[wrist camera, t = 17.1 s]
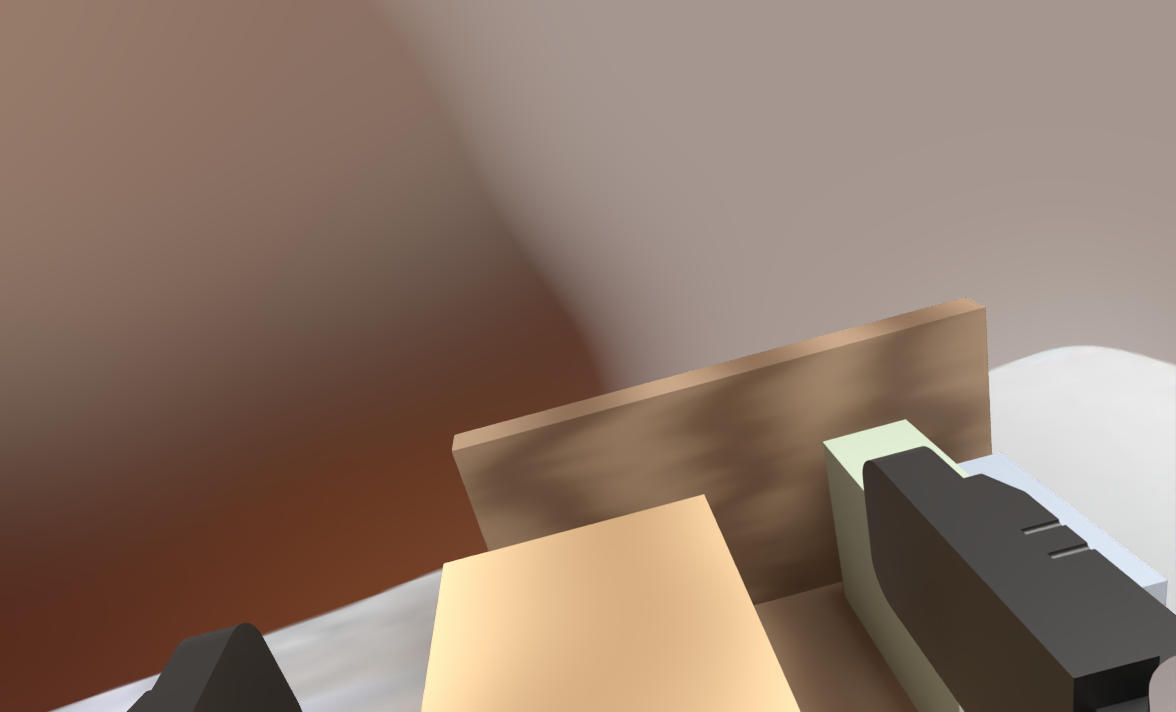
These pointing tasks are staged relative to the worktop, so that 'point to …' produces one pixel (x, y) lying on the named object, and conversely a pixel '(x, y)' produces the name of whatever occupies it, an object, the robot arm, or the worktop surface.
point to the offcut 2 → (1070, 520)
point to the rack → (751, 471)
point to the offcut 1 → (856, 561)
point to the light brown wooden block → (605, 624)
